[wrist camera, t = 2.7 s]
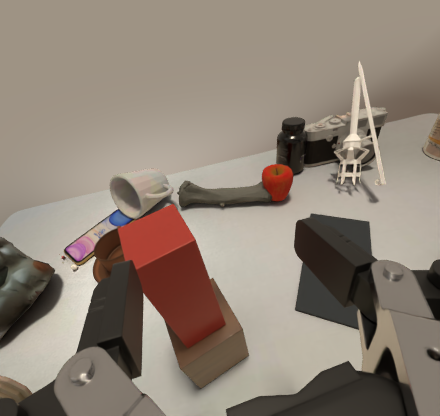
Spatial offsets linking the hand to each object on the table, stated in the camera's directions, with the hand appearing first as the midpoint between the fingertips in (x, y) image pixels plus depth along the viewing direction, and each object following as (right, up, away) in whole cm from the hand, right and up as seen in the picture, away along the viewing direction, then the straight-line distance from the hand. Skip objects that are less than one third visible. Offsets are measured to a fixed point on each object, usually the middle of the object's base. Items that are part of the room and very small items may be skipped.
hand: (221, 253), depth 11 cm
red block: (-2, -10, +14) cm, 17 cm away
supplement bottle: (+18, +12, +47) cm, 52 cm away
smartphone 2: (-31, -9, +36) cm, 48 cm away
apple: (+13, +5, +40) cm, 42 cm away
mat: (+19, -7, +26) cm, 33 cm away
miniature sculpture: (+25, +31, +38) cm, 55 cm away
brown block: (-1, -16, +20) cm, 26 cm away
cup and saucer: (-17, -9, +33) cm, 38 cm away
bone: (+1, +4, +42) cm, 43 cm away
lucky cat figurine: (-36, -15, +30) cm, 49 cm away
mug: (-14, +8, +45) cm, 47 cm away
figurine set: (-32, -8, +35) cm, 48 cm away
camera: (+31, +14, +46) cm, 57 cm away
